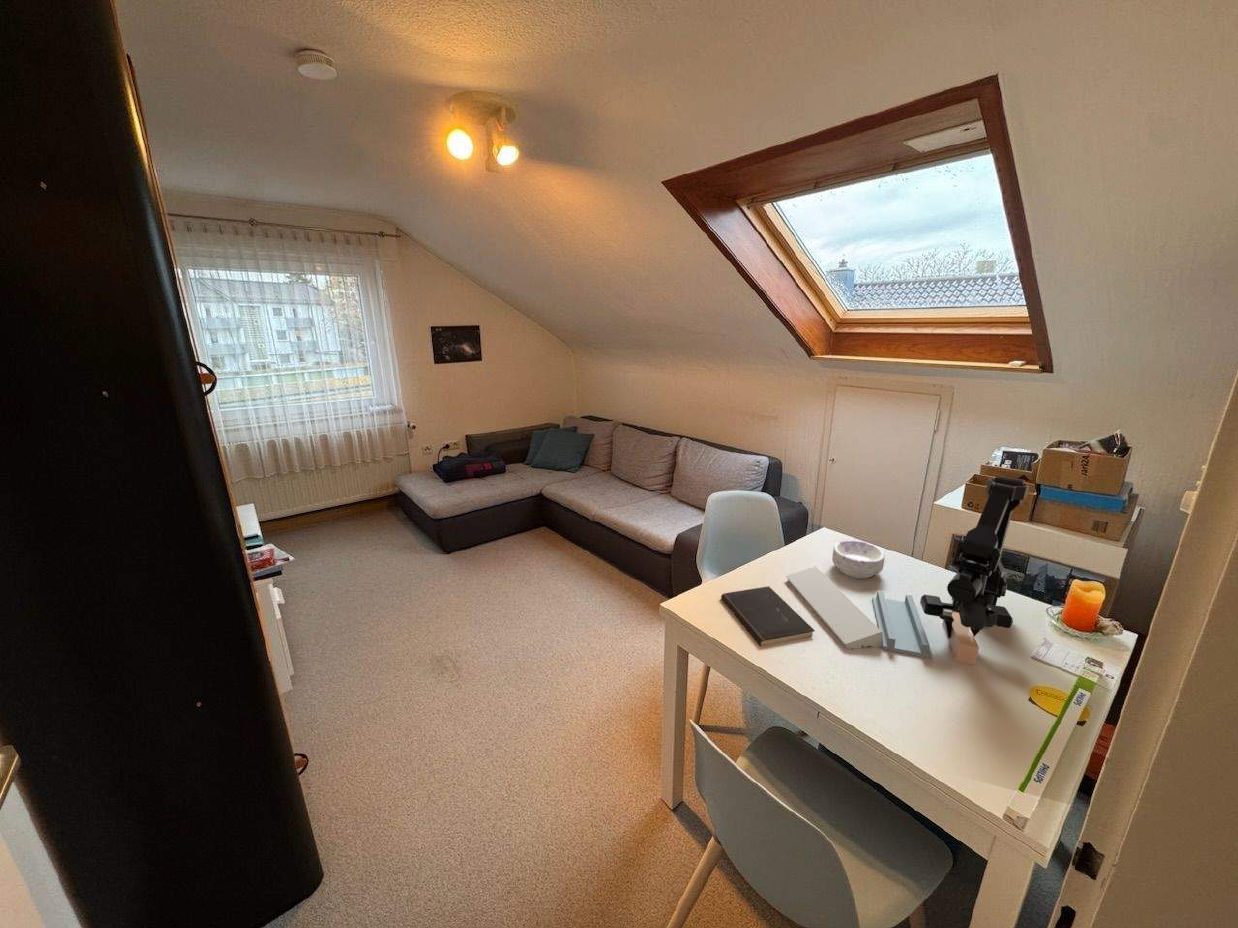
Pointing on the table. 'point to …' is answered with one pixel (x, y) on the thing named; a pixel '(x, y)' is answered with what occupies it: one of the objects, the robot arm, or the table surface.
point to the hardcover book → (766, 615)
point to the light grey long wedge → (836, 609)
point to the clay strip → (962, 641)
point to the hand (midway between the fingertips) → (958, 638)
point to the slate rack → (901, 626)
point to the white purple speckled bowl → (858, 558)
